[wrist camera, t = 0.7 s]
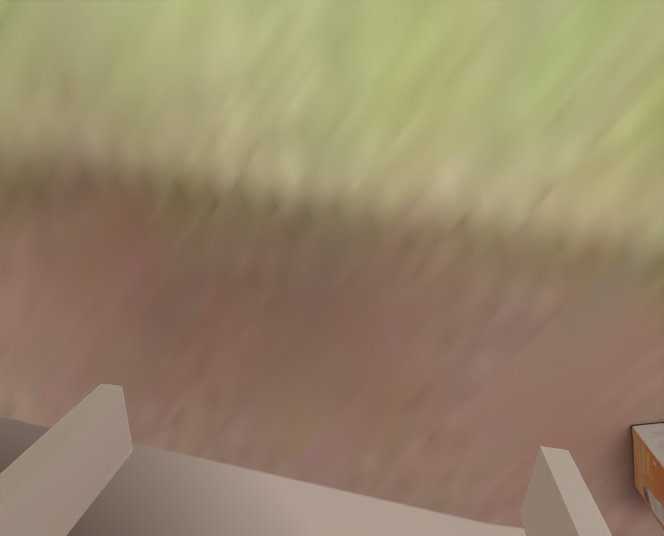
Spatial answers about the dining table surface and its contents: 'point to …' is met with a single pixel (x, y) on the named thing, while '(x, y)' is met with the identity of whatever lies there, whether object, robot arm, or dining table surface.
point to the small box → (650, 466)
